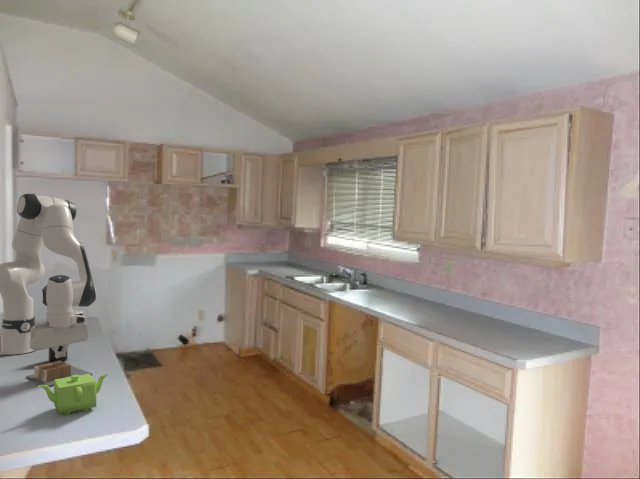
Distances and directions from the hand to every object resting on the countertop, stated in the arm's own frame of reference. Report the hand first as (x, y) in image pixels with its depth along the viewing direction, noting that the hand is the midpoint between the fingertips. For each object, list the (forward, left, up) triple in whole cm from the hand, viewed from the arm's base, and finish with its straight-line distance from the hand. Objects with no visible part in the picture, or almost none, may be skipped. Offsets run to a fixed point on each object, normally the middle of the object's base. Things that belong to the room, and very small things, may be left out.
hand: (60, 357), depth 179 cm
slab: (0, +2, -4) cm, 5 cm away
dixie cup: (-55, +35, -7) cm, 66 cm away
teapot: (+33, -12, -7) cm, 36 cm away
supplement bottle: (-19, +9, -7) cm, 22 cm away
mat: (0, 0, -7) cm, 7 cm away
